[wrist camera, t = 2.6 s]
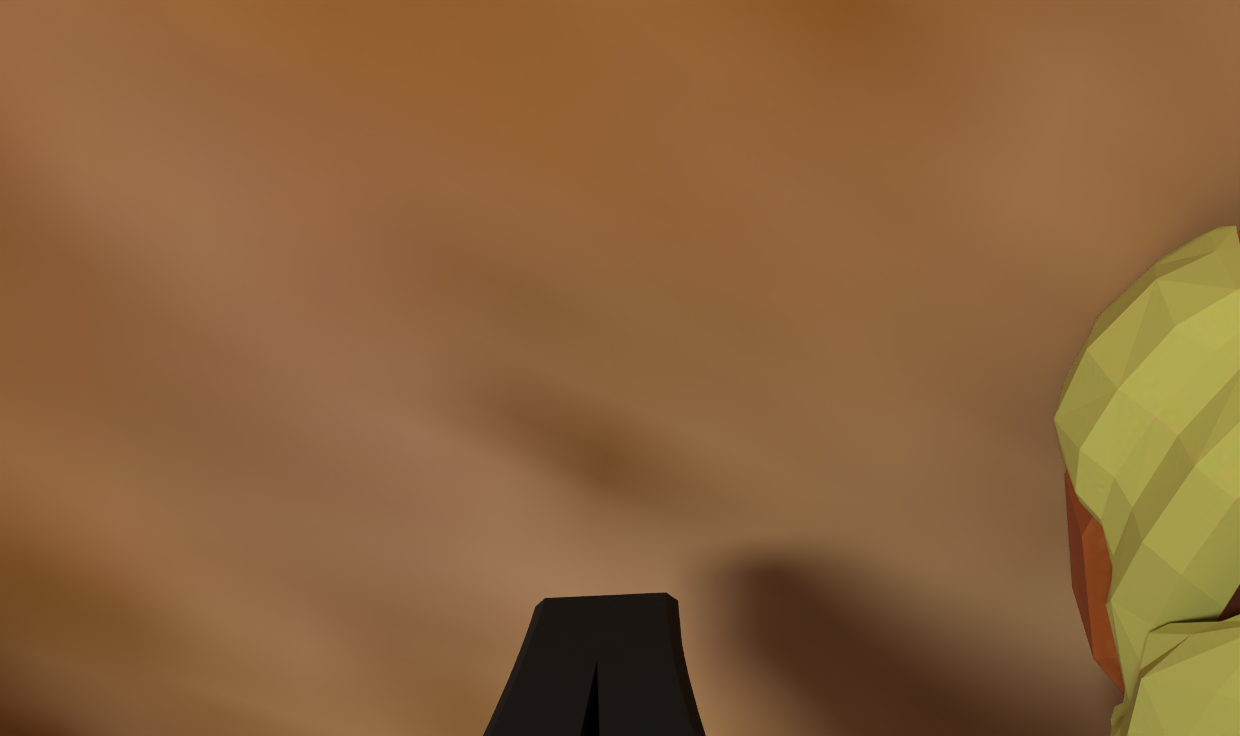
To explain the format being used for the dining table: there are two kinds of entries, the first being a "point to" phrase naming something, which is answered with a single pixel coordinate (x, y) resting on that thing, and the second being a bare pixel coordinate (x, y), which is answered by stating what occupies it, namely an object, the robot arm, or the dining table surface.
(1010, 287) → the dining table surface
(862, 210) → the dining table surface
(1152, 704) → the cheeseburger
